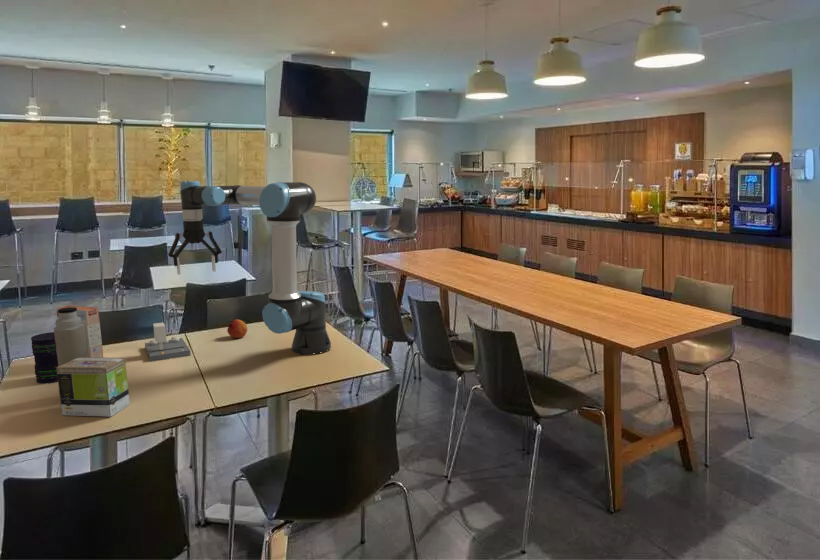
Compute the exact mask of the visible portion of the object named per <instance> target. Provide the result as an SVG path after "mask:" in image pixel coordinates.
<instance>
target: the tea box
mask: <svg viewBox="0 0 820 560" xmlns="http://www.w3.org/2000/svg"><path fill="white" fill-rule="evenodd" d="M56 368H57V376H58V382H57V383H58V384H57V385H58V391H59V393H58V394H59V400H60V407H61V413H62V416H71V417H72V416H73V417H74V416H77V417H81V416H82V417H108V418H110V417H112V416H115V415H116V414H118V413H119V412H121V411H122V410H123V409H125V408H127V407H128V406H130V391H129V381H128V373H127V371H128V370H127V364H126V358H125V357H103V358H97V357H96V358H95V357H93V358H92V357H79V358H76V359H74V360H72V361H70V362H67V363H65V364H63V365H61V366H58V367H56Z"/></svg>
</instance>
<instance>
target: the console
mask: <svg viewBox="0 0 820 560" xmlns="http://www.w3.org/2000/svg"><path fill="white" fill-rule="evenodd" d="M144 348H146V349H145V351H146V354H147V356H148V359H149V361H150V362H157V361H156V360H158V361H163V359H164V360H169V359H170V358H171V359H176V358H183V357H190V356H192V355H191V349H190V348H189V346H188V345H187V343H186V342H185V340H184V339H183V338H182V337H180V336H174V337H171V339H169V338H167V337H166V342H163V350H160V349H159V342H158V343H156V341H155V339H151V340H150V341H149V342H144Z"/></svg>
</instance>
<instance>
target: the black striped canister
mask: <svg viewBox="0 0 820 560" xmlns="http://www.w3.org/2000/svg"><path fill="white" fill-rule="evenodd" d="M30 341H31V350H32V352H31V353H32V355H33V356H34V357H33V359H34V375H35V378H36V380H35V381H36V383H37V384H42V385H43V384H44V385H45V384H46V383H48V384H55V382H56V383H58V376H57V368H56V367H58V360H57V352H56V343H55V335H54V331H53V332H52V331H51V332H50V331H49V332H43V333H38V334H35V335H32V336H31V338H30ZM46 385H47V384H46Z"/></svg>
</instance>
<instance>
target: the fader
mask: <svg viewBox="0 0 820 560" xmlns="http://www.w3.org/2000/svg"><path fill="white" fill-rule="evenodd" d="M152 325H153V336H154V340H155V341H156V343H158V342H159V349H160V350H163V342H166V338H167V333H166V325H165V323H164V322H155V323H153V324H152Z"/></svg>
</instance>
